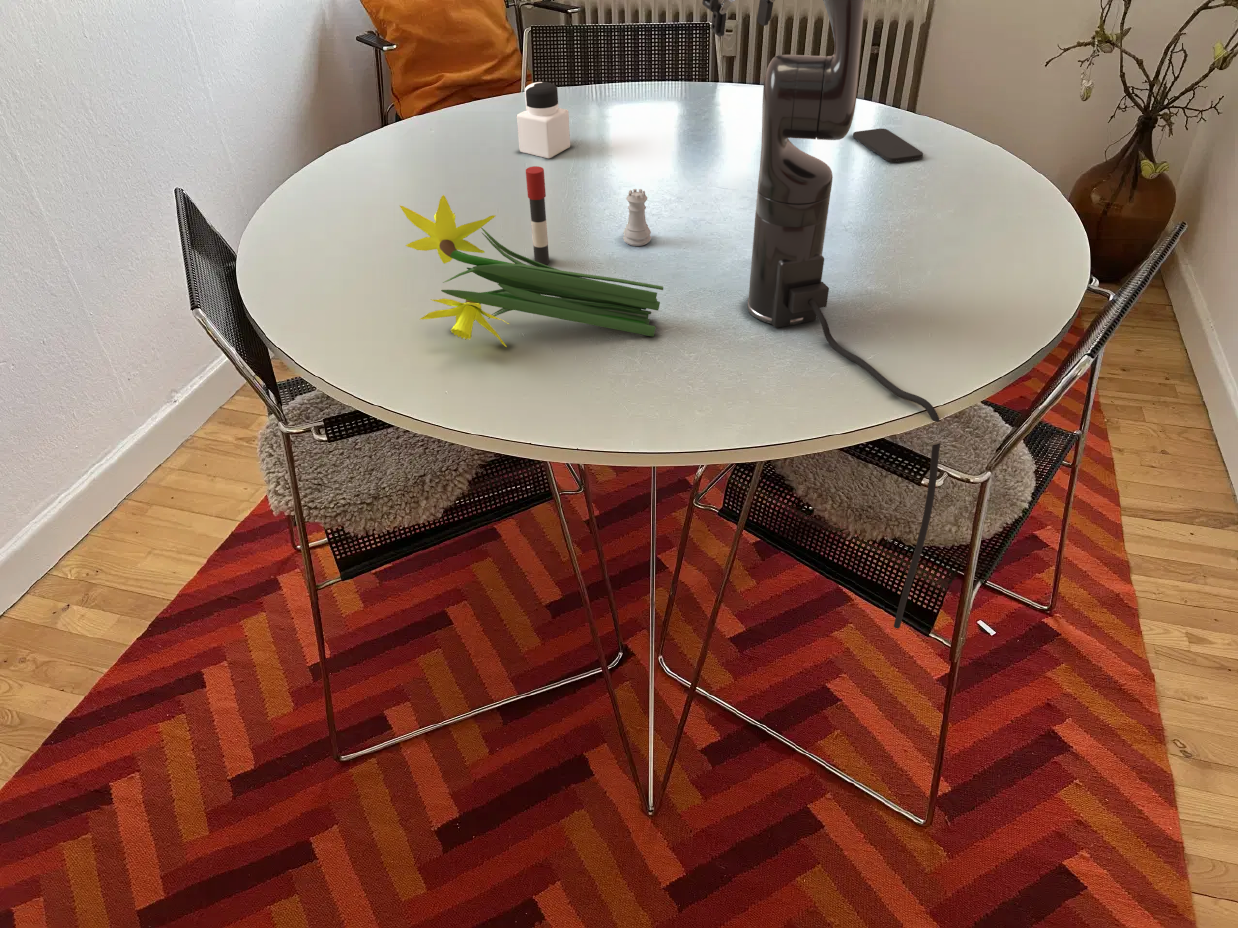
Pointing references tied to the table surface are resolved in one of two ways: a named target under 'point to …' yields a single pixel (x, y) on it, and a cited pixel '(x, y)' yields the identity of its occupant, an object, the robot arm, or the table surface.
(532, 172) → the marker
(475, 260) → the daffodil flowers
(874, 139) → the phone
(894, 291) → the table surface
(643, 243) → the rook chess piece
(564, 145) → the medicine bottle
